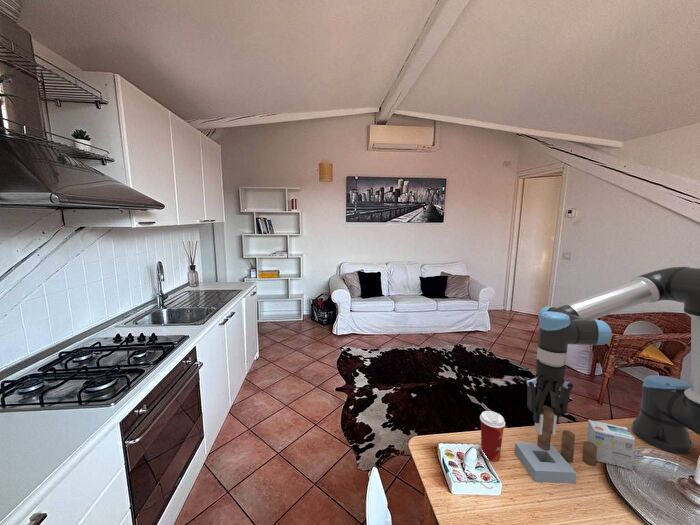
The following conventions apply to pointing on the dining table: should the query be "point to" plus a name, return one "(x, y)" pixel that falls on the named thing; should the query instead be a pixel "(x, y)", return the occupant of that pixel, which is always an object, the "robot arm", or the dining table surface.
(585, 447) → the short walnut dowel
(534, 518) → the dining table surface
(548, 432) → the tall walnut dowel
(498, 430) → the paper cup
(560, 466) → the drilled block
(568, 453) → the medium walnut dowel
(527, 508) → the dining table surface
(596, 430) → the light bulb box
